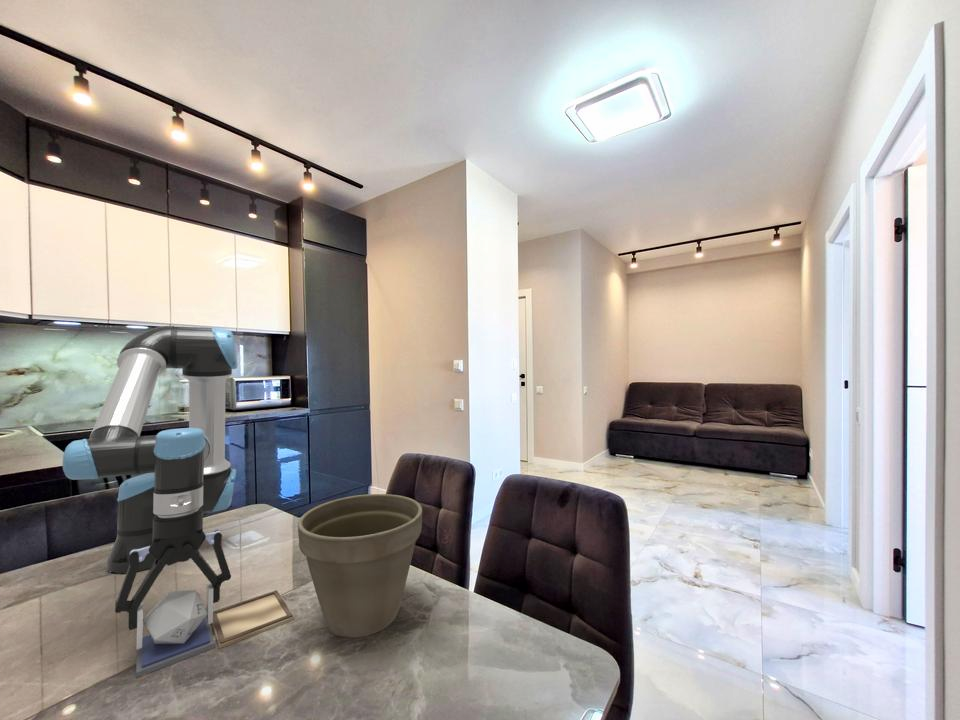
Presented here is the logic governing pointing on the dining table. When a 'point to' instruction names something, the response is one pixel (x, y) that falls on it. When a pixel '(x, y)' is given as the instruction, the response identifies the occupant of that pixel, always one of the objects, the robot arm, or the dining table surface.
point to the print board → (250, 618)
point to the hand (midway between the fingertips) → (176, 632)
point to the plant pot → (360, 558)
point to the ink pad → (172, 650)
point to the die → (175, 617)
